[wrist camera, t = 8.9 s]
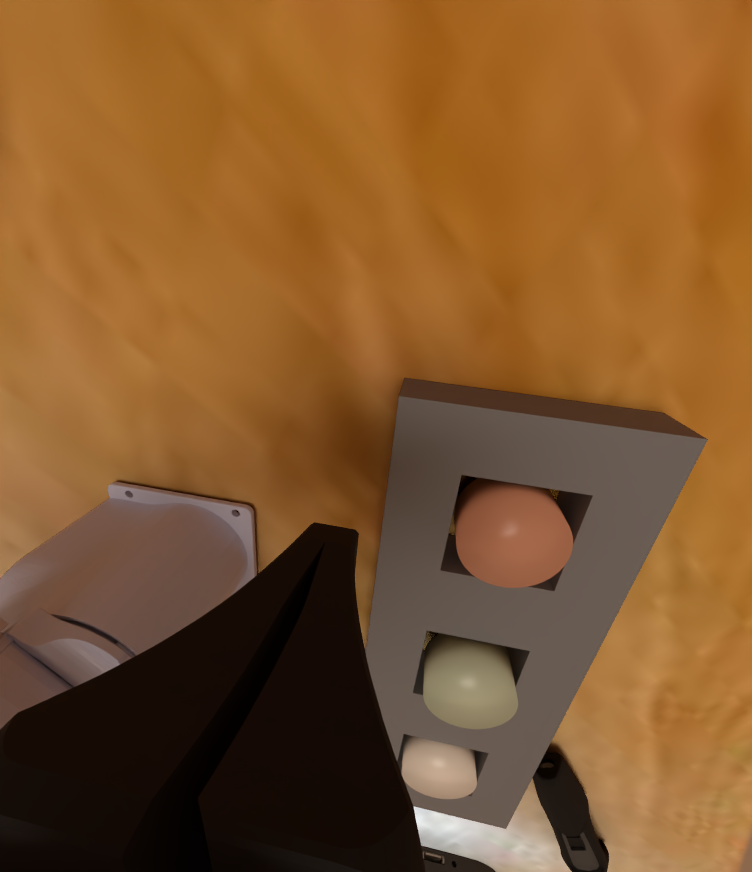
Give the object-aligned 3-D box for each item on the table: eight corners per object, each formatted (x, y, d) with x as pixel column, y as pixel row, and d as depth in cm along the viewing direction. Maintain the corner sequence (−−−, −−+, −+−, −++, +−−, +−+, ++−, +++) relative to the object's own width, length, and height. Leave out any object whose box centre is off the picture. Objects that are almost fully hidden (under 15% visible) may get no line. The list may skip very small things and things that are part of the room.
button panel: (355, 745, 31) (347, 789, 28) (404, 377, 18) (399, 396, 15) (499, 778, 30) (505, 828, 27) (663, 412, 17) (707, 439, 14)
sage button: (418, 676, 23) (417, 717, 21) (431, 621, 21) (430, 660, 19) (498, 693, 23) (505, 737, 21) (519, 638, 21) (529, 681, 19)
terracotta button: (446, 544, 20) (447, 577, 18) (464, 463, 18) (468, 489, 16) (540, 560, 20) (553, 596, 17) (570, 480, 17) (589, 509, 15)
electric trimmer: (565, 729, 27) (581, 782, 24) (605, 842, 32) (622, 898, 29) (514, 733, 28) (522, 784, 25) (560, 842, 33) (571, 895, 30)
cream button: (400, 749, 28) (397, 788, 26) (409, 709, 26) (406, 749, 24) (466, 764, 28) (468, 805, 26) (480, 725, 26) (484, 767, 24)
